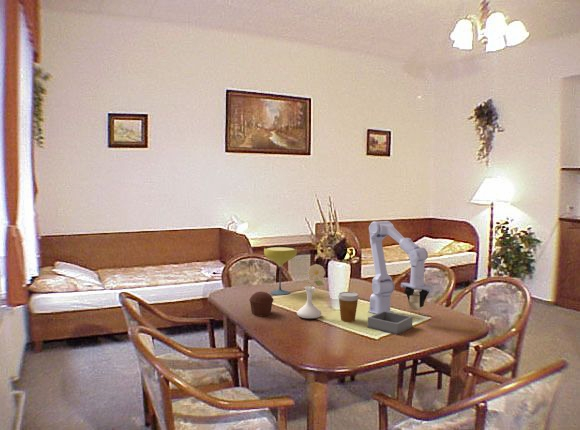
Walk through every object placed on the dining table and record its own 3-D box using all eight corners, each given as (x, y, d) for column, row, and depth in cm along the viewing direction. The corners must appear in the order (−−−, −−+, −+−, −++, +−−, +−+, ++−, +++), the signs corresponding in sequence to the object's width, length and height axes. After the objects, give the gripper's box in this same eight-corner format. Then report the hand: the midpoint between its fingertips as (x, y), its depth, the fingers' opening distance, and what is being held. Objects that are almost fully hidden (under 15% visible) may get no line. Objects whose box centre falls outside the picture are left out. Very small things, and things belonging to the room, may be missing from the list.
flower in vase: (293, 318, 219) (294, 264, 217) (301, 312, 230) (302, 260, 228) (320, 322, 214) (322, 267, 212) (327, 315, 225) (329, 262, 223)
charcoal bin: (367, 327, 208) (367, 317, 207) (383, 320, 218) (384, 310, 218) (397, 334, 199) (397, 324, 198) (412, 327, 210) (412, 316, 209)
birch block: (409, 309, 213) (409, 295, 212) (413, 306, 216) (414, 293, 216) (418, 310, 210) (419, 297, 210) (423, 308, 214) (423, 295, 213)
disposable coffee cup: (360, 318, 221) (360, 292, 220) (356, 324, 212) (356, 297, 211) (339, 316, 225) (340, 290, 224) (335, 321, 216) (335, 295, 215)
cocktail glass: (276, 287, 280) (277, 244, 278) (302, 292, 269) (303, 248, 267) (256, 293, 265) (257, 248, 263) (283, 298, 255) (283, 251, 253)
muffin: (244, 313, 227) (244, 292, 226) (261, 308, 235) (261, 288, 234) (261, 318, 219) (261, 296, 218) (278, 313, 227) (278, 292, 226)
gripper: (398, 274, 214) (397, 304, 215) (429, 279, 204) (428, 310, 205) (405, 272, 219) (404, 301, 220) (436, 276, 210) (434, 307, 211)
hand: (416, 305), depth 213 cm, fingers closed on birch block, 4 cm apart
